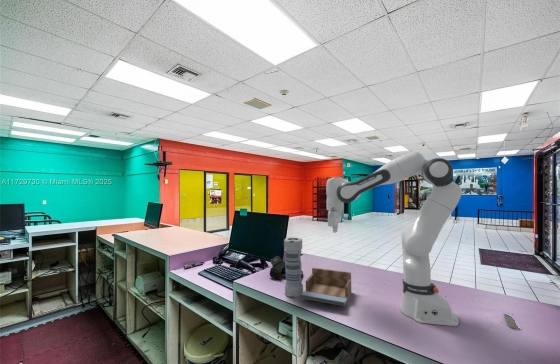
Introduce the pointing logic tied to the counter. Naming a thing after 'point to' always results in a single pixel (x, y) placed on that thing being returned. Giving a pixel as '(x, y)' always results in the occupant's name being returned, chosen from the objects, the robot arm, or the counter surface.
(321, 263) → the counter surface
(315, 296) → the panel
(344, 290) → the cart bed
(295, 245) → the canister
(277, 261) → the virtual reality headset
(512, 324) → the stone tool
